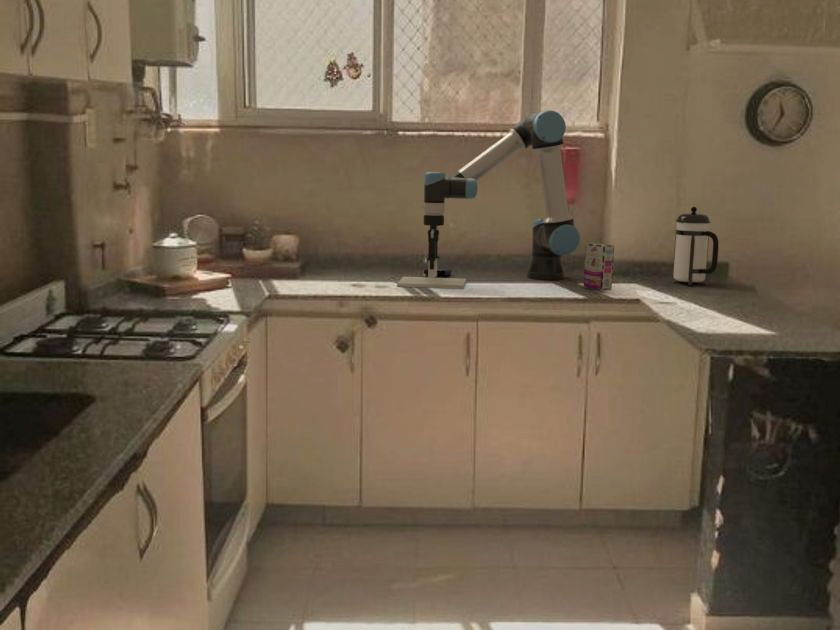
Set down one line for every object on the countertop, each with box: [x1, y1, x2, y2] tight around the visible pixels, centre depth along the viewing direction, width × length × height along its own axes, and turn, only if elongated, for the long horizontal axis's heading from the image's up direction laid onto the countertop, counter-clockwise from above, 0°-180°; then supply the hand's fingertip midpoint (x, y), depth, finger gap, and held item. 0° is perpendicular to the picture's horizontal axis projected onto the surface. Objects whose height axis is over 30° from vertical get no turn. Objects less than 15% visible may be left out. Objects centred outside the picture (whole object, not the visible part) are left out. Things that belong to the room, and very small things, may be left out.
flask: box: [423, 268, 453, 278], centre depth 362 cm, size 9×3×11 cm
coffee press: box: [668, 206, 719, 287], centre depth 353 cm, size 17×16×30 cm
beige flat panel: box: [396, 276, 467, 290], centre depth 339 cm, size 24×20×1 cm
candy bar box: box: [582, 242, 615, 291], centre depth 337 cm, size 11×5×16 cm, turn 27°
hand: (432, 277), depth 339 cm, fingers open, 6 cm apart
